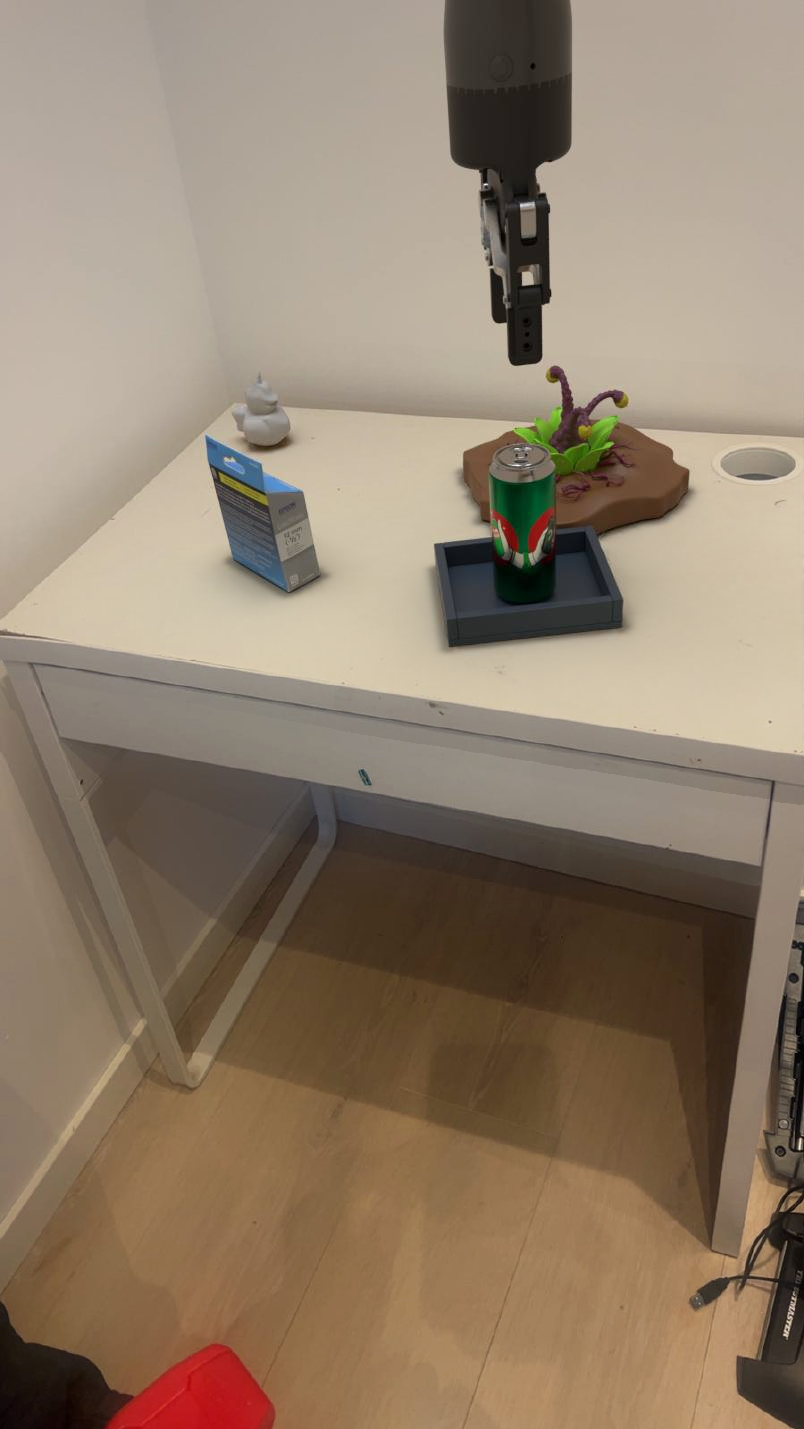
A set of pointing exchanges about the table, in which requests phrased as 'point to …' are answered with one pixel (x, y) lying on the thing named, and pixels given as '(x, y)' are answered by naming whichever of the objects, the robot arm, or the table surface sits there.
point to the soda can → (523, 522)
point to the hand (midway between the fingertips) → (515, 341)
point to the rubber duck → (262, 415)
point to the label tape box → (263, 518)
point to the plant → (590, 465)
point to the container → (571, 607)
